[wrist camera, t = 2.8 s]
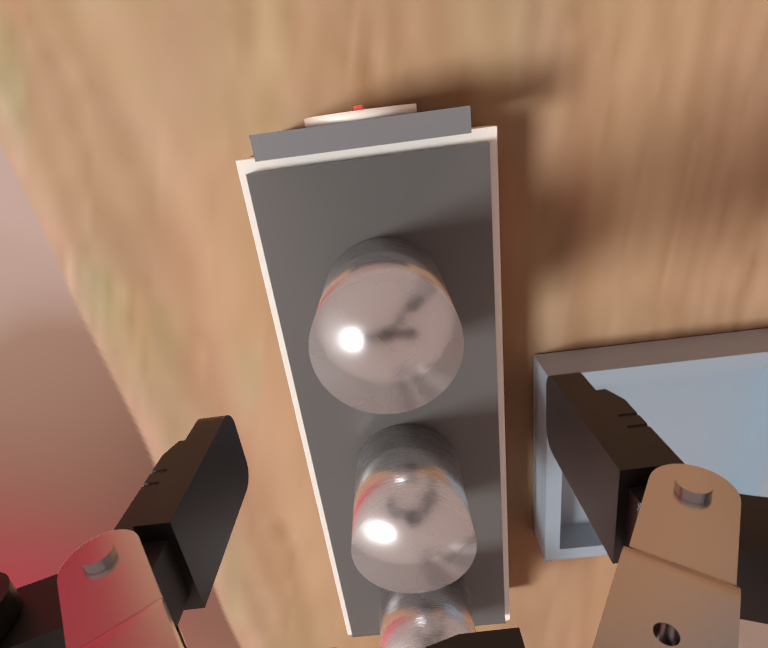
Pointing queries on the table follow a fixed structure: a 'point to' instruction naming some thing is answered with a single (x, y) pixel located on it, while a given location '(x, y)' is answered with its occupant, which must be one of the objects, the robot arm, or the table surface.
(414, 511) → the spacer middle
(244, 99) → the table surface
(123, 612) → the robot arm
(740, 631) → the pill bottle
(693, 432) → the tray
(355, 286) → the cylinder
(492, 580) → the scale
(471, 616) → the cylinder
